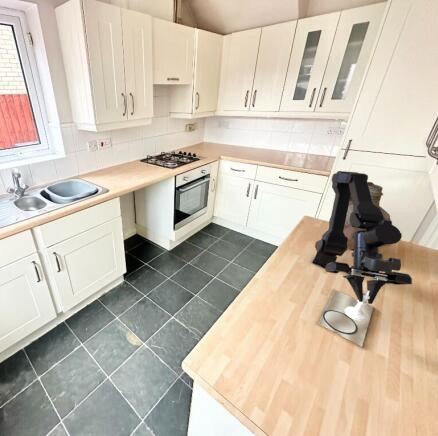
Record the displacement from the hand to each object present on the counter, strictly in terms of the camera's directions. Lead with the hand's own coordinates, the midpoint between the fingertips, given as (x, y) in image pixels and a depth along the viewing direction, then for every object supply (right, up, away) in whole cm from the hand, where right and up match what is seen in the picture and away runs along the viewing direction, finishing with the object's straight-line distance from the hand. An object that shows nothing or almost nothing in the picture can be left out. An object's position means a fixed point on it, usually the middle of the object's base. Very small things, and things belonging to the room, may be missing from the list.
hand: (365, 302), depth 70 cm
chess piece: (+1, -5, +4) cm, 7 cm away
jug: (+32, +12, +44) cm, 56 cm away
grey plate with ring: (+2, -8, +9) cm, 12 cm away
